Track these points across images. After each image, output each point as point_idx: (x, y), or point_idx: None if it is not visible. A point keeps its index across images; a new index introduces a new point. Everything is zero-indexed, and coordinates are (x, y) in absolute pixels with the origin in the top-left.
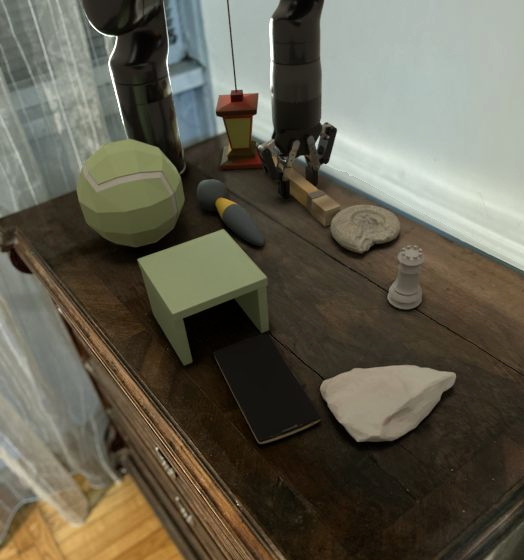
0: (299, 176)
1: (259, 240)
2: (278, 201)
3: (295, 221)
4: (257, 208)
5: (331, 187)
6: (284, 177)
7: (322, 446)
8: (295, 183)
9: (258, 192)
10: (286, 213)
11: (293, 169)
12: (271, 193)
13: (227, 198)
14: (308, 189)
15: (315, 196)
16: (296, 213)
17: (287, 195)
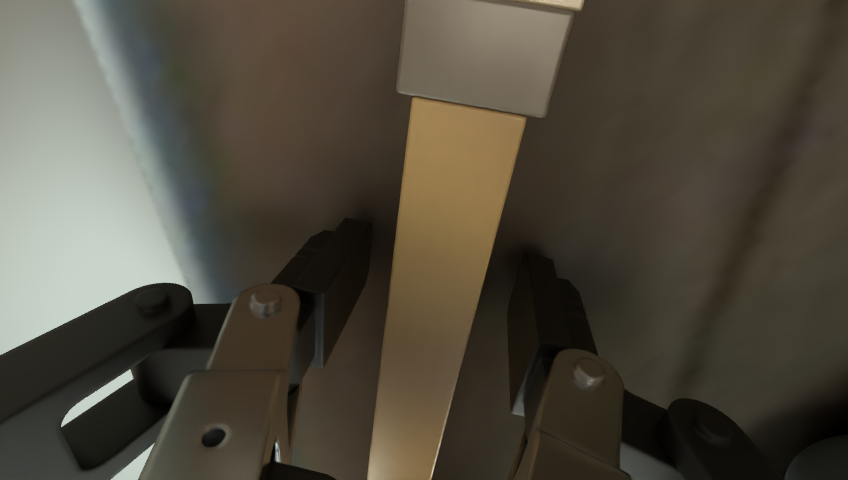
0: (400, 335)
1: None
2: None
3: (705, 33)
4: (706, 317)
5: (249, 186)
6: (601, 380)
7: None
8: (477, 300)
9: None
10: (649, 163)
11: (376, 402)
12: None
13: (837, 468)
14: (478, 166)
15: (525, 14)
16: (607, 115)
17: (548, 271)
